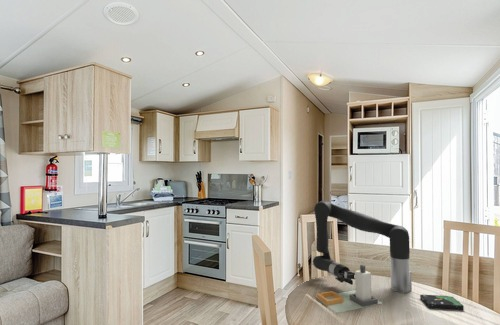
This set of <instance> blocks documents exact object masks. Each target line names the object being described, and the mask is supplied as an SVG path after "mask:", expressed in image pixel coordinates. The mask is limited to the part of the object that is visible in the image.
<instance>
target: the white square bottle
mask: <svg viewBox="0 0 500 325" xmlns="http://www.w3.org/2000/svg"><path fill="white" fill-rule="evenodd" d="M354 272H355V275H354V278H355V280H354V281H355V284H354V286H355V290H356V298H358V299H360V300H361V301H366V300H371V296H372V273H371V272H370V271H367V270H366V265H364V264H360V265H359V270H357V271H356V270H354Z"/></svg>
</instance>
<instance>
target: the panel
mask: <svg viewBox="0 0 500 325" xmlns="http://www.w3.org/2000/svg"><path fill="white" fill-rule="evenodd" d="M315 299H316V301H317V302H320V303H321V305H323V304H324V305H323V306H325V308H327V309H329V311H331V312H333V314H334V315H336V314H340V313H344V312H348V311H353V310H357V309H361V308H362V309H363V308H367V307H373V306H375V305H381V304H383V302H382V301H380V300H379V299H378V298H376V297H374V296H373V295H371V300H366V301H361V300H360V299H358V298H356V289H353V290H349V291H342V292H335V291H333V290H330V291H329V290H328V291H324V292H319V293H317V294H316V297H315ZM330 309H331V310H330ZM334 312H335V313H336V314H335V313H334Z"/></svg>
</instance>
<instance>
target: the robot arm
mask: <svg viewBox="0 0 500 325" xmlns="http://www.w3.org/2000/svg"><path fill="white" fill-rule="evenodd" d="M313 210H314V217H315V225H316V226H315V227H316V240H315V244H316V245H315V247H316V251H317V252H318V253H321V254H322V255H317V256H314V257H313V259H312V263H313V264H312V265H313V266H314V267H315V268H316V269H317V270H320V271H324V272H327V273H329V274H331V275H332V276H334V278H335V280H337V281H338V282H339V283H346V284H349V285H351V286H352V285H353V284H354V282H353V280H354V281H355V271H358V270H356V269H355V271H352V270H350V268H349V267H348V266H346V265H344V264H342V263H340V262H338V261H335V260H333V259H332V258H331V255H330V251H329V232H328V231H329V230H328V218H329V217H330V218H333V219H336V220H339V221H341V222H342V223H344V224H345V225H347V226H349V227H351V228H353V229H355V230H359V231H362V232H365V233H372V234H378V235H381V236H383V237H386V238H388V239H389V257H390V258H389V259H390V261H389V262H390V264H389V265H390V289H391V290H392V291H395V292H397V293H402V294H406V293H410V292H411V291H412V290H413V288H412V272H411V271H410V270H411V268H410V265H411V264H410V258H411V257H410V254H411V253H410V252H411V251H410V248H411V247H410V234H409V230H408V229H406V228H405V227H404V226H403V225H399V224H394V223H389V222H387V221H383V220H380V219H378V218H375V217H372V216H370V215H367V214H365V213H361V212H359V211H355V210H352V209H349V208H348V209H347V208H344V207H341V206H338V205H337V204H334V203H332V202H330V201H327V200H320V201H318V202H317V203H316V204H314V209H313Z"/></svg>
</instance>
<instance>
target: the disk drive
mask: <svg viewBox="0 0 500 325" xmlns="http://www.w3.org/2000/svg"><path fill="white" fill-rule="evenodd" d="M419 298H420V299H419V300H421V301H422V302H423V304H424V305H425V306H426V307H427V308H428V309H433V310H434V309H435V310H451V311H464V310H465V306H464V305H463V303H461V302H460V301H459V300H457V298H455V297H454V296H449V295H437V294H436V295H435V294H420V295H419Z"/></svg>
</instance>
